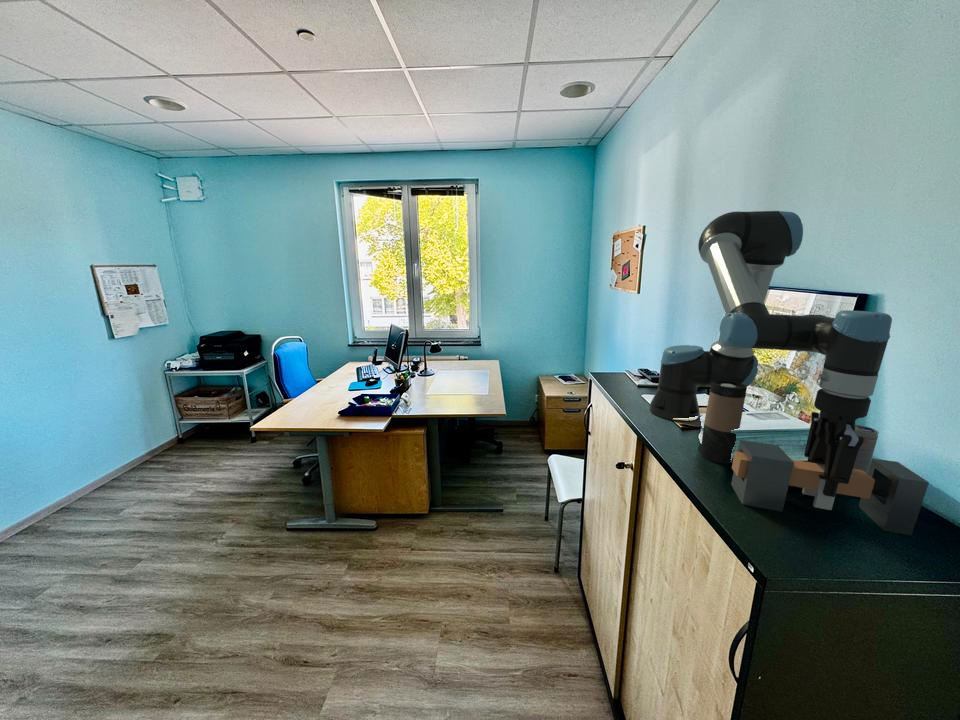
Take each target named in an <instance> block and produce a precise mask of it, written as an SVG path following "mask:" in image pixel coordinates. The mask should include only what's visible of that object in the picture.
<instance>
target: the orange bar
mask: <svg viewBox="0 0 960 720" xmlns="http://www.w3.org/2000/svg"><path fill="white" fill-rule="evenodd" d="M791 460H792V461H793V462H794V464H793V469H792V473H791V477H790V482H789V486H790V487H797V488H802V489H803V488H807V489H813V490H817V487H818V483H819V479H820V478H819V475H823V476H824V469H825V464H820V463H811V462H808V461H804V460H802V461H801V460H796V459H791ZM747 464H748V458H747V456H746V455H745V454H744V452H738V450H737V451H735V450H734V455H733V459H732V465H731V469H732V471H733V472H735V474H736V476H737V477H741V478H745V474H746V469H747ZM874 483H875V480H874V479H873V478H872V477H870V476H869V475H868V473H865V472H864V471H863V470H858V469H853V470H852V474H851V477H850V480H849V483H848V484H845V483H839V484H838V488H837V492H836V494H837V495H838V494H839V495H844V496H850V497H857V498H860V499H861V498H867V499H870V496H871V493H872V489H873V486H874ZM789 486H788V487H789Z"/></svg>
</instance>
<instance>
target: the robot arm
mask: <svg viewBox="0 0 960 720" xmlns="http://www.w3.org/2000/svg"><path fill="white" fill-rule="evenodd" d="M803 237H804V227H803V223H802V219H801V218H800V216H799V215H798V214H797V213H795V212H792V211H784V210H762V211H761V210H760V211H759V210H757V211H753V210H752V211H730V212H725V213H724V214H722V215H719V216H718V217H716V218H714V219H713V220H712V221H710V222H709V223H708V224H707V226H706V227H704V228H703V230H702V232H701V234H700V237H699V240H698V245H697V246H698V252H699V255H700V257H701V260H702V261H703V263H704V262H705V263H706V264H708V267H709V271H710V273H711V276H712V278H713V283H714V285H715V287H716V291H717V293H718V297H719V299H720V301H721V304H722V307H723V309H724V313H725V315H724V316H723V317H722V319H721V321H720V325H719V336H718V340H717V341H715V342H713V343H711V345H710V350H709V351H708V350H706V351H705V350H704V348H703V347H702V346H699V345H689V344H681V345H673V346H668V347H666V348H665V349H664V350H663V352H662V356H661V360H660V363H661V364H660V369H659V370H660V371H659V379H658V384H657V390H656V391H655V394H654V396H653V397H652V400H651V401H650V404H649V412H650V413H652V414H653V415H654V416H657V417H659V418H662V419H665V420H670V421H673V420H672V419H673V418H689V417H695V416H698V415H699V416H700V408H699V406H700V405H699V403H698V398H697V392H698V388H699V387H705V388H706V387H709V388H711V382H713V383H714V382H715V381H716V380H728V381H734V382H738V383H741V384H744V385H746V386H747V388H748V387H749V386H751V385H752V384H753V382H754V381H755V379H756V377H757V375H758V372H759V368H758V366H759V360H758V357H756V355H755V351H754V349H755V350H758V349H759V350H775V351H776V350H779V351H791V352H792V351H793V352H808V353H809V352H811V353H817V354H821V355H825V356H824V357H825V359H824V362H823V366H822V372H821V373H819V375H818V377H819V384H818V386H819V387H820V388H819V389H817V391H816V395H815V399H814V403H813V404H814V408H815V409H816V410H818V411H820V412H816V411H813V412H811V418H810V419H811V420H810V421H811V422H810V426H809V430H808V431H809V432H808V435H807V440H806V443H805V444H806V445H805V448H804V449H805V450H804V457H805V458H807V462H811V463H820V464H825V469H824V476H823V475H819V478H820V479H819V483H818V487H817V490H813V489H807V488H802V490H801V493H802V495H806V496H811V497H814V500H813V503H812V506H813V507H814V508H816V509H817V508H818V509H822V510H827V511H832V510H833V506H834V503H835V498H836V494H837V493H836V492H837V488H838V484H839V483H845V484H848V483H849V480H850V477H851V474H852V470H853V467H854V464H855V460H856V457H857V454H858V450H859V448H860V446H861V445H862V443H863V442H864V438H863V437H860V436H856V434H855V433H854V431H855V424H856V420H858V419H862V418H866V417H867V416H868V413H869V410H870V406H871V403H872V399H871V398H870V397H871V396H873V395H874V392H875V388H876V385H877V380H878V378H879V372H880V369H881V366H882V362H883V358H884V355H885V352H886V349H887V345H888V342H889V340H890V338H891V334H890V332H891V327H892V322H893V318H892V316H891V315H890V314H889V313H885V312H880V311H879V312H876V311H875V312H874V311H869V310H868V311H866V310H850V309H849V310H848V309H847V310H840V311H838V312H837V313H836V315H835V317H830V316H826V315H824V314H802V315H798V314H797V315H796V314H795V315H793V314H792V315H791V314H775V313H773V314H772V313H770V312H769V310H768V308H767V306H766V304H765V301H766V298H767V295H768V291H769V288H770V285H771V281H772V278H773V276H774V272H775V270H776V269H778V268H779V267H781V266H783V265H784V263H785V259H786V258H788V257H791V256H793V255H795V254H796V253H797V251H798V250H799V249H800V248H801V244H802V241H803Z"/></svg>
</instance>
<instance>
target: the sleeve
mask: <svg viewBox="0 0 960 720" xmlns="http://www.w3.org/2000/svg"><path fill="white" fill-rule="evenodd" d="M737 452H744V454H745V455H746V456H747V458H748V464H747V469H746V474H745V478H741V477H737V476H736V474H735V472H734V471H733V474H732V477H731V483H730V486H732V489H733V491H734V492H735V494H736V495H737V498H738V500H739V501H740V503H741V504H742V505H743V506H749V507H750V506H751V507H756V508H759V509H766V510H771V511H775V512H781V513H782V512H783V511H784V507H785V502H786V498H787V493H788V489H789V482H790V477H791V473H792V469H793V464H794V462H793V461H792V460H793V459H791V458H790V457H789V456H788V454H787V453H786V452H785V451H784V450H783V449H782V448H781V447H780V446H779V445H778V444H772V443H766V442H765V443H764V442H757V441H751V440H743V439H740V440H739V442H738V447H737Z"/></svg>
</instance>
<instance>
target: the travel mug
mask: <svg viewBox="0 0 960 720" xmlns="http://www.w3.org/2000/svg"><path fill="white" fill-rule="evenodd" d="M709 388H710V390H709V395H708V400H707V405H706V411H705V417H704V422H703V431H702V438H701V444H700V456H701V457H702V458H703V459H705V460H707V461H709V462H712V463H716V464H717V463H718V464H724V465H725V464H730V463H731V460H730V459H731V453H732V449H733V447H734V445H735V441H736V434H734V433H731V430H734V429H738V428H740V427H741V424H742V423H741V422H742V416H743V411H744V406H745V399H746V394H747V388H748V387H747V386H746V385H744V384H741V383H738V382H734V381H728V380H716V381H715V382H714V383H713V382H711V387H709Z"/></svg>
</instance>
